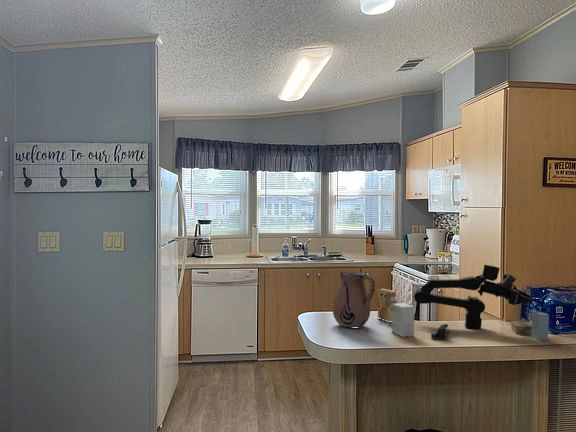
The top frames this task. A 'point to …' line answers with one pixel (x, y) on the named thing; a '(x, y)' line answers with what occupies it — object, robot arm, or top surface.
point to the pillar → (540, 325)
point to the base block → (521, 327)
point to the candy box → (386, 303)
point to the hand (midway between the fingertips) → (530, 298)
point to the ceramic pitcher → (352, 300)
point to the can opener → (441, 332)
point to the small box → (403, 319)
